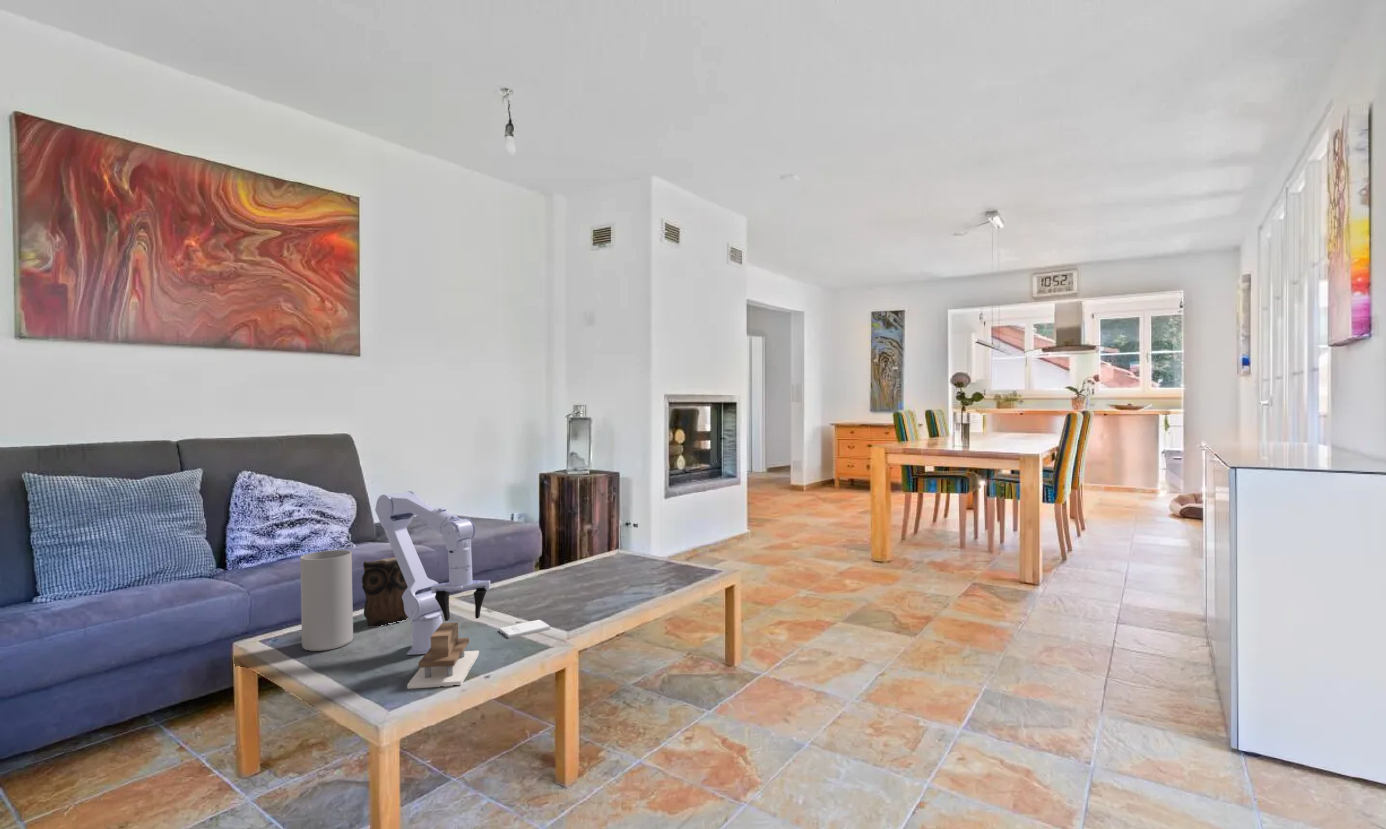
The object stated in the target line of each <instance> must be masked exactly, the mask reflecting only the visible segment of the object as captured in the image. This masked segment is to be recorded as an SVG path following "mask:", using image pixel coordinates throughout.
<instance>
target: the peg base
mask: <svg viewBox="0 0 1386 829" xmlns="http://www.w3.org/2000/svg"><path fill="white" fill-rule="evenodd" d="M479 655H480V650H464V651H463V652H462V654H461V656H460V657H459V659H458V660H457V662H456V663H455V665H454V666H440V667H423V668H418V670H417V671H416V673H415V674H414V676H412V678H411V679H410V680H409V682H408V683H407V690H410V689H422V688H423V689H424V688H425V689H426V688H441V687H440V686H444V687H454V686H453V685H460V686H462V685H463V683H464V681H465V680H466V677H467V676H468V674H469V672H470V671H469V670H471V668H472V667H473V665H474V664H475V662H476V660H477V658H478V657H479ZM461 684H462V685H461Z"/></svg>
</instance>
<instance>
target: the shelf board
mask: <svg viewBox="0 0 1386 829" xmlns="http://www.w3.org/2000/svg"><path fill="white" fill-rule="evenodd" d="M468 644H470V637H459V622H444V623H442V624H441V625H440V626H439V627H438V629H437V630H436V631H435V632H434V633H433V635H432V636H431V648H430V649H429V650H428V652H427V653H426V654H423V656H422V657H421V659H420V660H419V661H418V669H420V668H423V667H440V666H454V665H455V663H456V662H457V660H458V659H459V657H460V656H461V654H462V652H463V651H465V649H466V647H467V646H468Z"/></svg>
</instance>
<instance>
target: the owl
mask: <svg viewBox="0 0 1386 829" xmlns="http://www.w3.org/2000/svg"><path fill="white" fill-rule="evenodd" d="M362 566H363V570H364V571H363V574H362V577H361V583H362V587H361V588H362V590H363V592H364V596H365V601H364V605H363V606H364V607H363V617H364V618H365V619H366V621H367V627H368V626H381V625H385V624H388V623H393V622H397V621H402V620H406V619H407V618H409V617H408V616H407V615H406V613H405V611H404V603H403V599H402V595H403V593H404V592H405V590H406V589H407V587H408V586H407V584H406V581H405V579H404V576H403V574H402V572H401V569H400V567H399V564H398V562H397V560H396V557H395V556H394V557H390V558H380V559H378V560H372V561H371V560H370V561H366V560H364V561H363V565H362ZM385 626H386V625H385Z"/></svg>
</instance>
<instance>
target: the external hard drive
mask: <svg viewBox="0 0 1386 829" xmlns="http://www.w3.org/2000/svg"><path fill="white" fill-rule="evenodd" d="M548 629H549V630H551V626H550V625H549V624H547V623H546V622H545V621H543V620H541V619H536V620H532V621H527V622H523V623H521V622H520V623H517V624H513V625H509V626H508V625H507V626H504V627H499V628H498V632H500V633H501V634H502V633H503V635H504V636H505V637H506V638H508V639H513V638H517V637H522V636H527V635H530V634H534V633H535V634H536V633H540V632H544V631H548Z"/></svg>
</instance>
